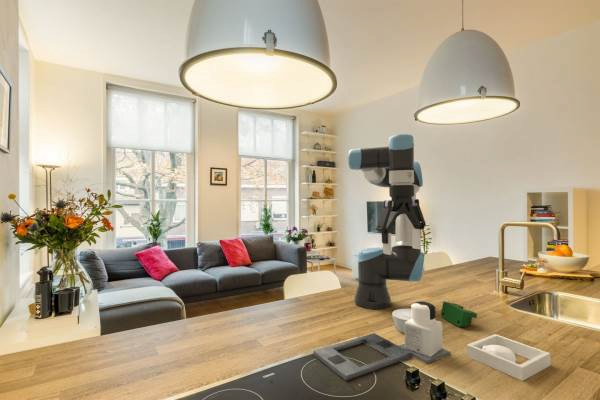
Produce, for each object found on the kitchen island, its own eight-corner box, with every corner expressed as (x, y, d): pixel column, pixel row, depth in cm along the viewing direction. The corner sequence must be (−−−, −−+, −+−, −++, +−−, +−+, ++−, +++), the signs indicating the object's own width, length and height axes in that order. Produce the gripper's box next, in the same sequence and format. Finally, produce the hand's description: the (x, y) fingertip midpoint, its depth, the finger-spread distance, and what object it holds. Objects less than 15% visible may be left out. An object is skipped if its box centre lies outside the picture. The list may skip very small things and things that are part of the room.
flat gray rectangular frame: (313, 354, 89) (313, 350, 89) (374, 336, 100) (374, 332, 100) (345, 380, 76) (345, 375, 76) (411, 356, 87) (411, 352, 87)
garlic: (482, 363, 84) (482, 349, 84) (480, 352, 90) (480, 339, 90) (518, 370, 81) (517, 355, 81) (513, 358, 87) (513, 344, 87)
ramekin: (391, 333, 103) (391, 317, 103) (393, 321, 113) (393, 306, 113) (428, 338, 99) (427, 322, 99) (426, 325, 110) (426, 310, 110)
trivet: (398, 348, 92) (397, 345, 92) (421, 340, 97) (421, 338, 97) (426, 363, 84) (426, 360, 84) (450, 354, 89) (450, 351, 89)
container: (417, 340, 96) (416, 297, 96) (442, 348, 90) (442, 303, 90) (404, 348, 91) (404, 303, 91) (430, 358, 85) (430, 310, 85)
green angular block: (469, 338, 109) (482, 318, 106) (454, 335, 108) (466, 315, 105) (451, 313, 120) (462, 295, 117) (438, 310, 119) (448, 291, 116)
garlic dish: (466, 356, 87) (466, 344, 88) (495, 344, 94) (495, 333, 94) (522, 381, 75) (522, 367, 75) (550, 365, 82) (550, 353, 82)
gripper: (381, 184, 89) (383, 258, 90) (436, 183, 102) (437, 248, 103) (363, 185, 96) (364, 254, 96) (417, 184, 109) (418, 245, 109)
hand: (402, 251), depth 100 cm, fingers open, 13 cm apart
